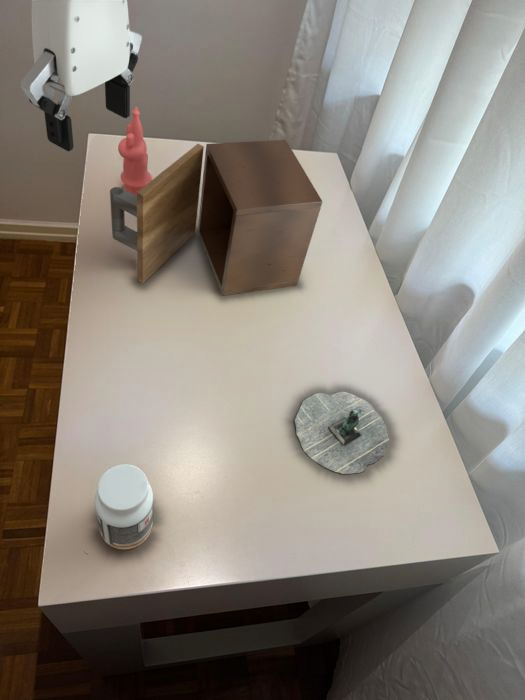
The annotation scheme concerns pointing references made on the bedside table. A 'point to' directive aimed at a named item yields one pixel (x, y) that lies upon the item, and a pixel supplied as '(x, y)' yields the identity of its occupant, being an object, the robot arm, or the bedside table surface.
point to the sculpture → (341, 432)
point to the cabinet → (256, 215)
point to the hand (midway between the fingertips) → (90, 128)
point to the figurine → (134, 156)
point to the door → (160, 213)
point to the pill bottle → (124, 506)
